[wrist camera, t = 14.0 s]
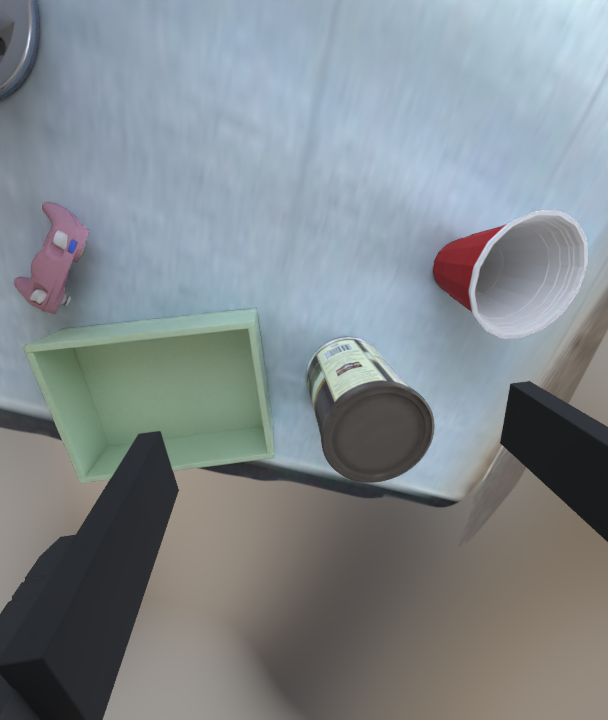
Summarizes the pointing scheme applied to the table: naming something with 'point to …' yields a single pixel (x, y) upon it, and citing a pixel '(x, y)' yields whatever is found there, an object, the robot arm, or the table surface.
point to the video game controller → (54, 260)
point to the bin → (158, 390)
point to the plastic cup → (516, 272)
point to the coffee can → (366, 412)
